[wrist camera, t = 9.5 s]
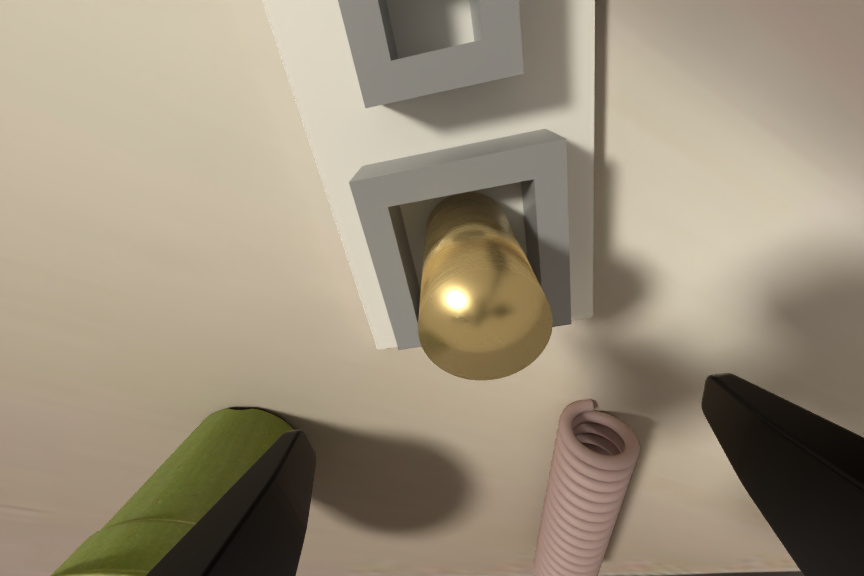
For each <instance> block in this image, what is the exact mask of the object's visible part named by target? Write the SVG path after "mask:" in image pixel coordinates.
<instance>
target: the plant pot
mask: <svg viewBox="0 0 864 576" xmlns="http://www.w3.org/2000/svg"><path fill="white" fill-rule="evenodd" d="M291 430H294V429H293V428H292V427H291V426H290V425H289V424H288V423H286V422H285V421H284V420H282V419H281V418H279V417H277V416H275V415H273V414H270V413H268V412H265V411H262V410H258V409H247V410H233V409H229V408H227V409H223V410H220V411H217V412H215V413H213V414H211V415H210V416H208V417H207V418H206V419H205V420H204V421H203V422H202V423H201V424H200V425H199V426H198V427H197V428H196V429H195V430H194V431H193V432H192V433H191V435H190V436H189V437H188V438H187V439H186V440H185V441H184V442H183V443H182V444H181V445H180V446H179V447H178V448H177V449H176V451H175V452H174V453H173V454H172V455H171V456H170V457H169V458H168V459H167V460H166V461H165V462H164V463H163V464H162V465H161V466H160V467H159V468H158V470H157V471H156V472H155V473H154V474H153V475H152V476H151V477H150V478H149V479H148V480H147V481H146V482H145V484H144V485H143V486H142V487H141V488H140V489H139V490H138V491H137V492H136V493H135V494H134V495H133V496H132V497H131V498H130V500H129V501H128V502H127V503H126V504H125V505H124V506H123V507H122V508H121V509H120V510H119V511H118V512H117V513H116V514H115V516H114V517H113V518H112V519H111V520H110V521H109V522H108V523H107V524H106V525H105V526H104V527H103V528H102V529H101V530H100V531H98V532H96V533H95V534H93V535H92V536H90V537H89V538H88V539H87V540H86V541H84V542H83V544H82V545H81V546H80V547H79V548H78V549H77V550H76V551H75V552H74V553H73V554H72V555H71V556H70V557H69V558H68V559H67V560H66V561H65V562H64V563H63V564H62V565H61V566H60V567H59V568H58V569H57V570H56V571H55V572H54V573H53V574H52V575H51V576H145V575H146V574H147V573H148V572H149V571H150V570H151V569H152V568H153V567H154V566H155V565H156V564H157V563H158V562H159V561H160V560H161V559H162V558H163V557H164V556H165V555H166V554H167V553H168V552H169V551H170V550H171V548H172V547H173V546H174V545H175V544H176V543H177V542H178V541H179V540H180V539H181V538H182V537H183V536H184V535H185V534H186V533H187V532H188V531H189V530H190V529H191V528H192V527H193V526H194V525H195V524H196V523H197V522H198V521H199V520H200V519H201V518H202V517H203V515H204V514H205V513H206V512H207V511H208V510H209V509H210V508H211V507H212V506H213V505H214V504H215V503H216V502H217V501H218V500H219V499H220V498H221V497H222V496H223V495H224V494H225V493H226V492H227V491H228V490H229V489H230V488H231V487H232V486H233V485H234V484H235V483H236V481H237V480H238V479H239V478H240V477H241V476H242V475H243V474H244V473H245V472H246V471H247V470H248V469H249V468H250V467H251V466H252V465H253V464H254V463H255V462H256V461H257V460H258V459H259V458H260V457H261V456H262V455H263V454H264V453H265V452H266V451H267V450H268V448H269V447H270V446H271V445H272V444H273V443H274V442H275V441H276V440H277V439H278V438H279V437H280V436H281V435H282V434H283V433H284V432H286V431H291Z"/></svg>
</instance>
